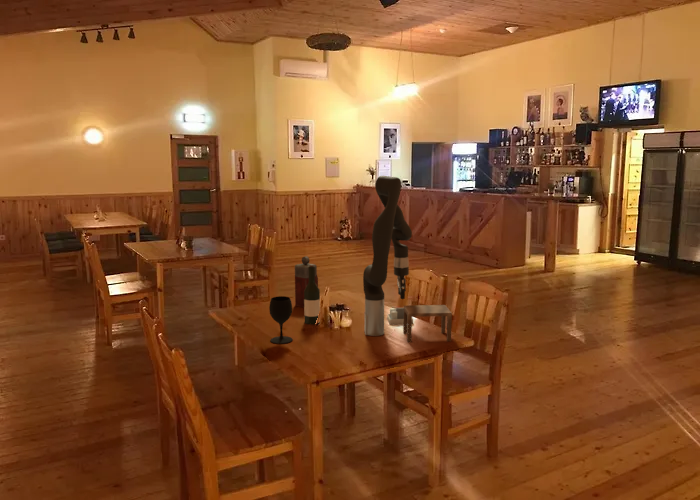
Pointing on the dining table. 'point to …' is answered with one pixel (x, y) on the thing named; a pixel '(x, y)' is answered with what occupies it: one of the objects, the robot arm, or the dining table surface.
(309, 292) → the wine bottle
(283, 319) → the wine glass
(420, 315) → the counter shelf
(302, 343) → the dining table surface
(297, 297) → the pepper mill
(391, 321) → the tray
